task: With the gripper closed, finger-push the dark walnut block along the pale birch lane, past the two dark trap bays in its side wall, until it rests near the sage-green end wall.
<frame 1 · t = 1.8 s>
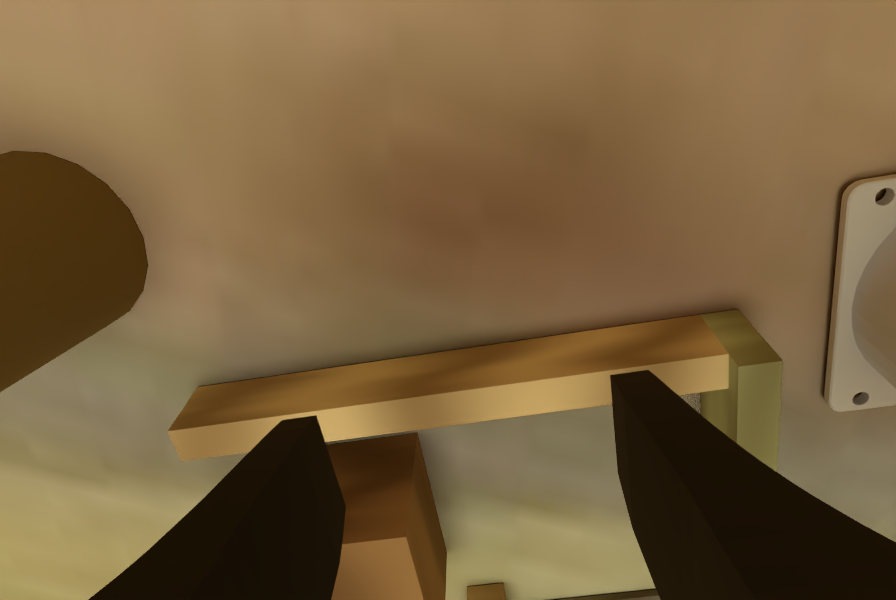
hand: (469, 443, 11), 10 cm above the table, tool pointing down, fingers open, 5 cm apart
trap lane: (489, 489, 24), on the table
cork: (54, 244, 20), on the table
walnut block: (369, 501, 24), on the table
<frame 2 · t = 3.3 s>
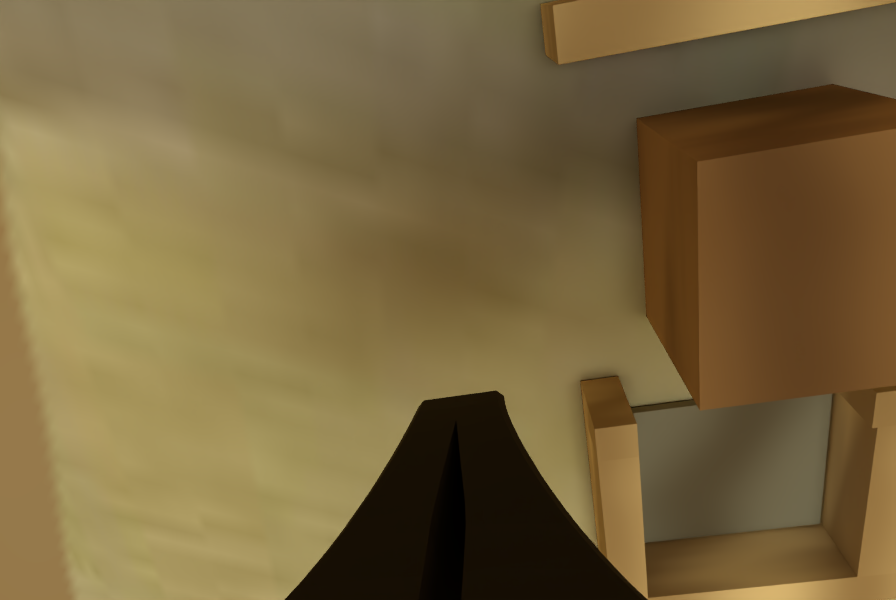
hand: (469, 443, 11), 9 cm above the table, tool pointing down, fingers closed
walnut block: (730, 208, 18), on the table
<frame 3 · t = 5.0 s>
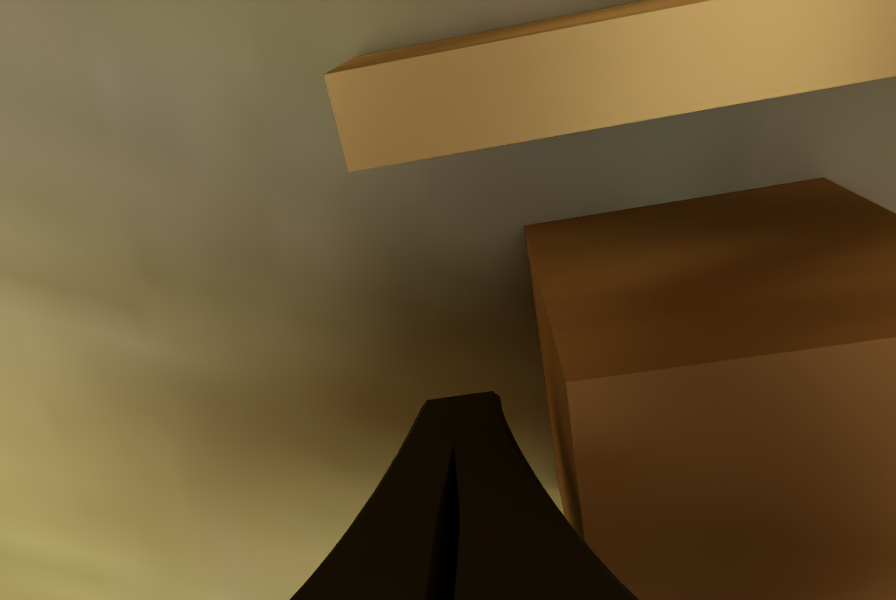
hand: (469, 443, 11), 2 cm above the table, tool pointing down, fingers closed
walnut block: (674, 351, 12), on the table, touching gripper
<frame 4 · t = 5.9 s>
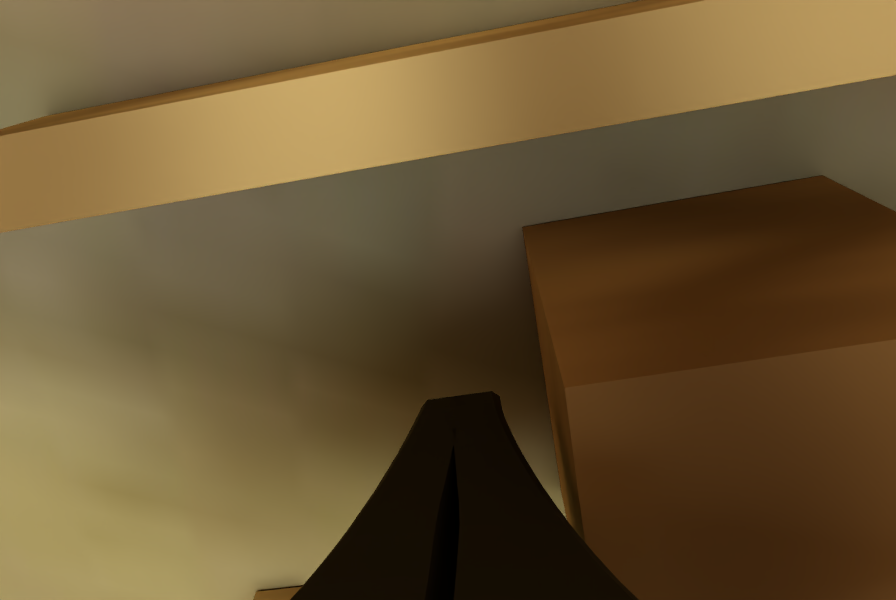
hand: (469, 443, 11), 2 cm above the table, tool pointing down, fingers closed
trap lane: (647, 357, 12), on the table
walnut block: (675, 352, 12), on the table, touching gripper
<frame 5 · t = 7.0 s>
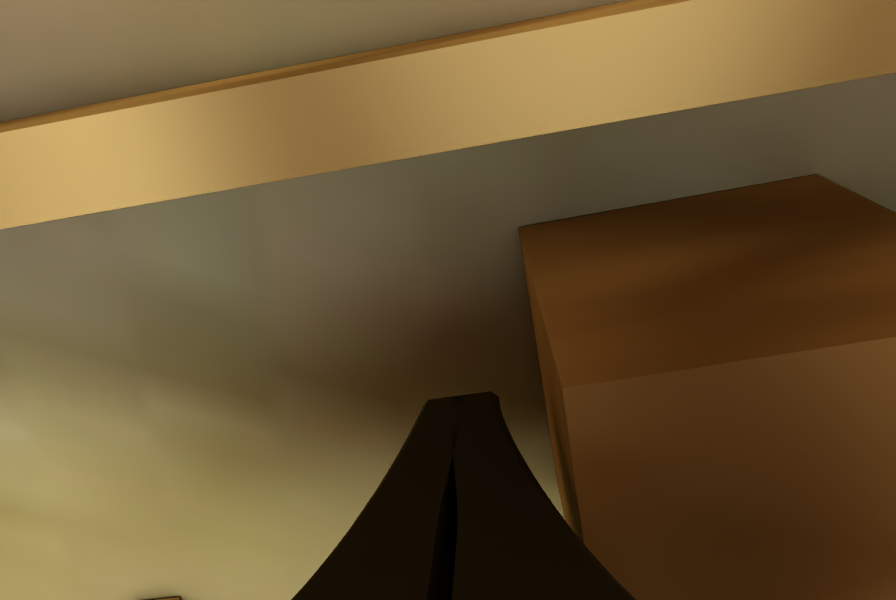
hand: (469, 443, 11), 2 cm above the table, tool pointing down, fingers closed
trap lane: (483, 377, 12), on the table
walnut block: (671, 352, 12), on the table, touching gripper
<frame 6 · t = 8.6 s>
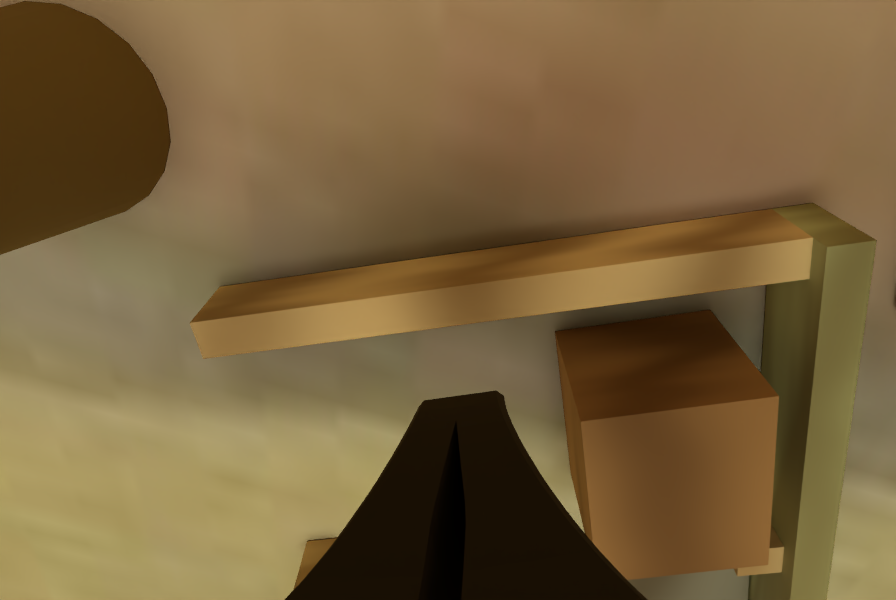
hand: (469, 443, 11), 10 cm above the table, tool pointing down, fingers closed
trap lane: (531, 409, 22), on the table
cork: (67, 116, 18), on the table
walnut block: (634, 395, 22), on the table
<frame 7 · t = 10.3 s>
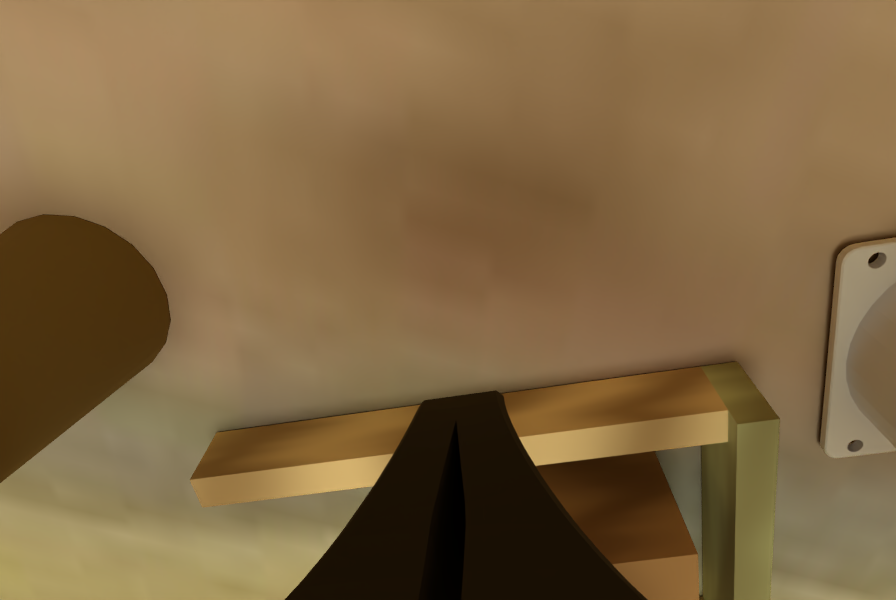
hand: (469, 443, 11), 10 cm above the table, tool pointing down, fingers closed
trap lane: (497, 528, 25), on the table
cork: (81, 299, 21), on the table
walnut block: (590, 514, 25), on the table
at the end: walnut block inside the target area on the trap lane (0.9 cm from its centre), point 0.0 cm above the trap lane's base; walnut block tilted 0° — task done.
